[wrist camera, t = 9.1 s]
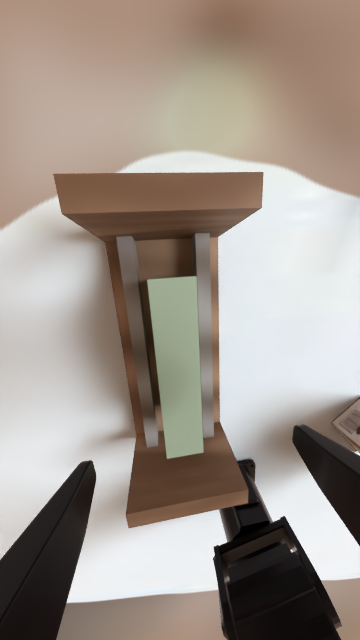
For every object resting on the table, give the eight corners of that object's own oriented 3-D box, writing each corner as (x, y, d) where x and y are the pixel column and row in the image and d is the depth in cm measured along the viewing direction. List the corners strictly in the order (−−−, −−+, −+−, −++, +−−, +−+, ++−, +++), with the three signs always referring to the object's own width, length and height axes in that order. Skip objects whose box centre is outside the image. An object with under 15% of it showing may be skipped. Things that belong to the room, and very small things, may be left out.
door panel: (190, 401, 20) (204, 452, 14) (163, 405, 20) (166, 459, 14) (183, 276, 16) (197, 276, 11) (150, 278, 16) (146, 279, 10)
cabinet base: (217, 425, 22) (247, 503, 15) (139, 438, 21) (128, 528, 14) (214, 221, 16) (263, 172, 9) (105, 225, 15) (53, 174, 8)
